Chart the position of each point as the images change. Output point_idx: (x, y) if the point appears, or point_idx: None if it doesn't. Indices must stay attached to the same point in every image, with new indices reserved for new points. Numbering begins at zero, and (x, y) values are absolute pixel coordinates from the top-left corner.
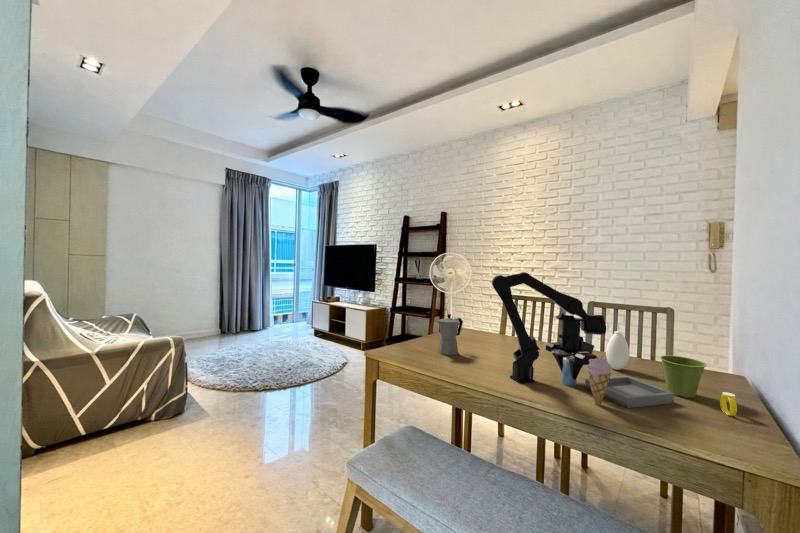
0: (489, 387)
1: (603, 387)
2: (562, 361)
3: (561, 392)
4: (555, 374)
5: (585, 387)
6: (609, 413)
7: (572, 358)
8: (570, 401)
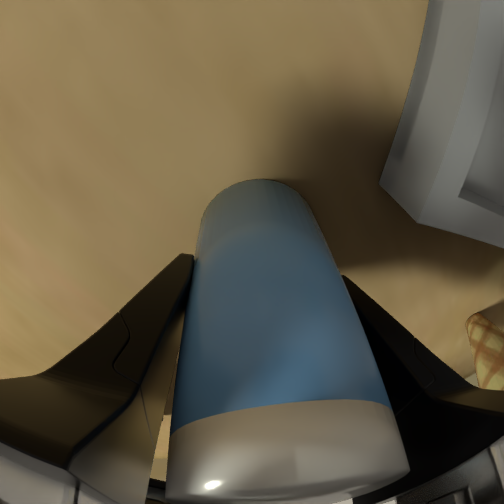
0: None
1: None
2: (154, 422)
3: None
4: (28, 150)
5: (382, 184)
6: None
7: (326, 494)
8: None
